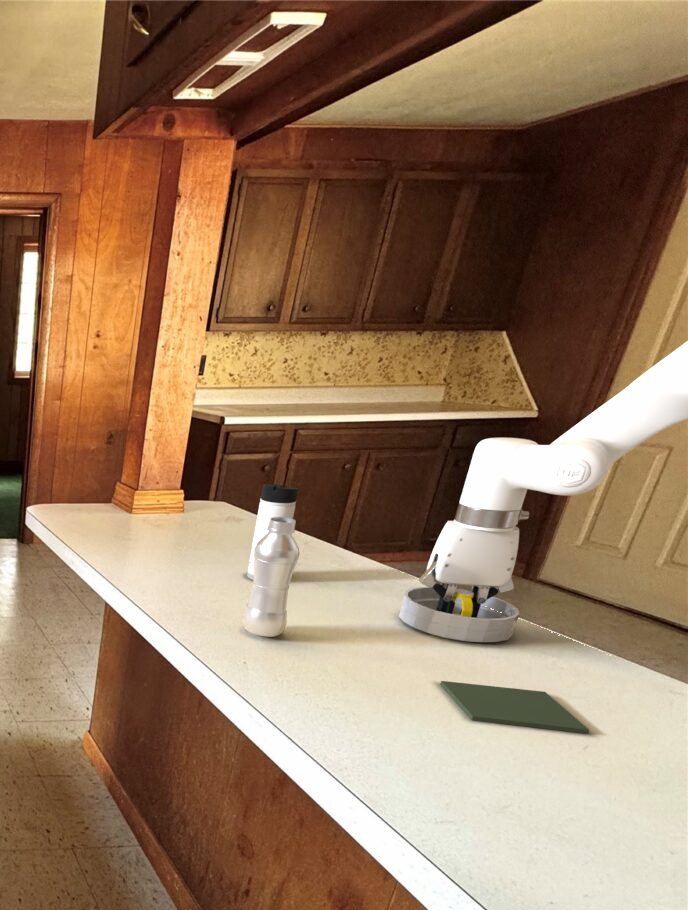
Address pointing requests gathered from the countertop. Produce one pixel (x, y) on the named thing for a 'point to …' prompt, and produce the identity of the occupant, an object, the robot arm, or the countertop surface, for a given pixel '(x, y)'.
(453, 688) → the mat
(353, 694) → the countertop surface
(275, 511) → the travel mug
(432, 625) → the basin
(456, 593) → the watch
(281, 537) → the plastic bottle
